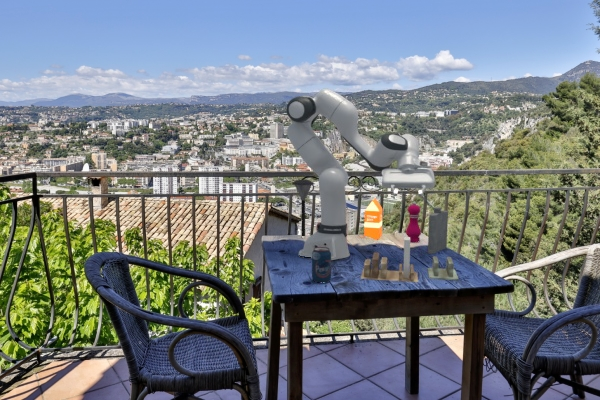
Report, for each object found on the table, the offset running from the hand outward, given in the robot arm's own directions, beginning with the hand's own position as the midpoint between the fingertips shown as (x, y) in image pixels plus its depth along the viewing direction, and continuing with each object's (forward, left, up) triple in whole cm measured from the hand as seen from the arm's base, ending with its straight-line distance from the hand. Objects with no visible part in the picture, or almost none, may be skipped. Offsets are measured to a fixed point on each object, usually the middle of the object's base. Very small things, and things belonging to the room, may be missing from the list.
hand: (407, 195), depth 175 cm
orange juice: (-16, +57, -30) cm, 66 cm away
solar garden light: (-51, +47, -30) cm, 75 cm away
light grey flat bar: (0, -13, -28) cm, 31 cm away
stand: (+13, -8, -29) cm, 33 cm away
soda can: (-30, -20, -30) cm, 47 cm away
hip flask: (+14, +35, -30) cm, 48 cm away
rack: (-6, -13, -29) cm, 33 cm away
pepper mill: (+4, +52, -30) cm, 60 cm away
